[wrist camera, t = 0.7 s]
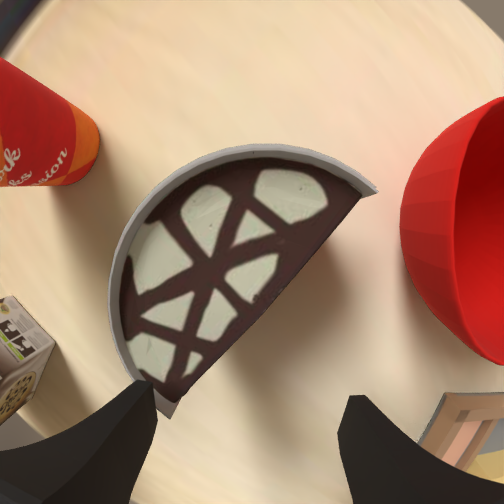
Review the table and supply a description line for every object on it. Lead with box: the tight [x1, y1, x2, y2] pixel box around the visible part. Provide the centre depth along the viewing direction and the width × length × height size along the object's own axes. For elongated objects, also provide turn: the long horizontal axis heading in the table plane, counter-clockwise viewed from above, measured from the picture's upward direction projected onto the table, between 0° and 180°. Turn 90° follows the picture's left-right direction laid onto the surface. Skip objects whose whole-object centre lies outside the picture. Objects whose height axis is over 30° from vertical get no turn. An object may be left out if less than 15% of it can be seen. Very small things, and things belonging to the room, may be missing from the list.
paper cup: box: [0, 57, 100, 187], centre depth 13 cm, size 8×8×14 cm
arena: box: [417, 392, 504, 472], centre depth 20 cm, size 18×18×3 cm
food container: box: [108, 144, 379, 419], centre depth 15 cm, size 12×6×10 cm, turn 140°
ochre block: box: [466, 450, 504, 484], centre depth 19 cm, size 4×9×4 cm, turn 77°
